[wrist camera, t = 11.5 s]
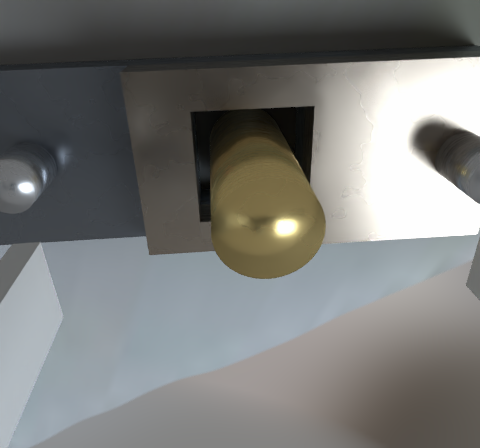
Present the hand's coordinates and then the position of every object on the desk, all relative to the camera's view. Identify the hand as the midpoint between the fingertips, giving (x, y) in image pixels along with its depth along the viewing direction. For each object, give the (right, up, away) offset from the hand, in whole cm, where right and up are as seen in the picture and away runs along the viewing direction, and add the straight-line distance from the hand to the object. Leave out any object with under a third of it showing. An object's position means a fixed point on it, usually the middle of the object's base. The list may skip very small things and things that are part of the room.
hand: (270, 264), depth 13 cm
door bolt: (-1, +6, +11) cm, 12 cm away
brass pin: (-1, +6, +11) cm, 12 cm away
